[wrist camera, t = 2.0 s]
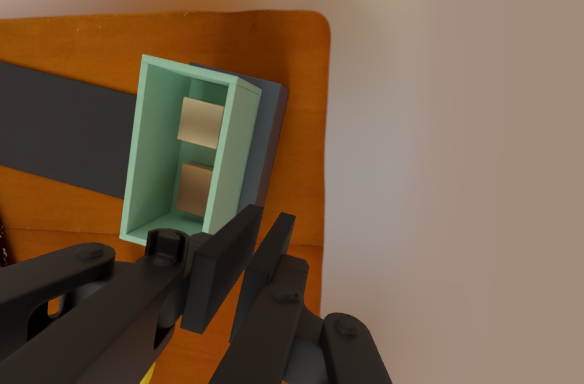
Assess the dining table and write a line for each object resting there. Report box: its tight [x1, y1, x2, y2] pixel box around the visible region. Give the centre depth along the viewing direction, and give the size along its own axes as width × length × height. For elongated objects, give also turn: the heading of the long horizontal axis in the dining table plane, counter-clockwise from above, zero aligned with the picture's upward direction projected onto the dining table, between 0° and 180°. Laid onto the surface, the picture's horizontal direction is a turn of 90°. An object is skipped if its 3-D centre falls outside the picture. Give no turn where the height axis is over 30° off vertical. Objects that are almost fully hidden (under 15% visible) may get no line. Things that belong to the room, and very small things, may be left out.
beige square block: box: [177, 97, 225, 149], centre depth 32 cm, size 4×4×4 cm
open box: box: [120, 54, 262, 246], centre depth 31 cm, size 16×8×8 cm, turn 166°
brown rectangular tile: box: [176, 161, 214, 217], centre depth 34 cm, size 5×4×2 cm
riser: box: [189, 62, 289, 215], centre depth 38 cm, size 18×10×6 cm, turn 166°
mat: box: [0, 62, 137, 199], centre depth 43 cm, size 14×31×1 cm, turn 76°
